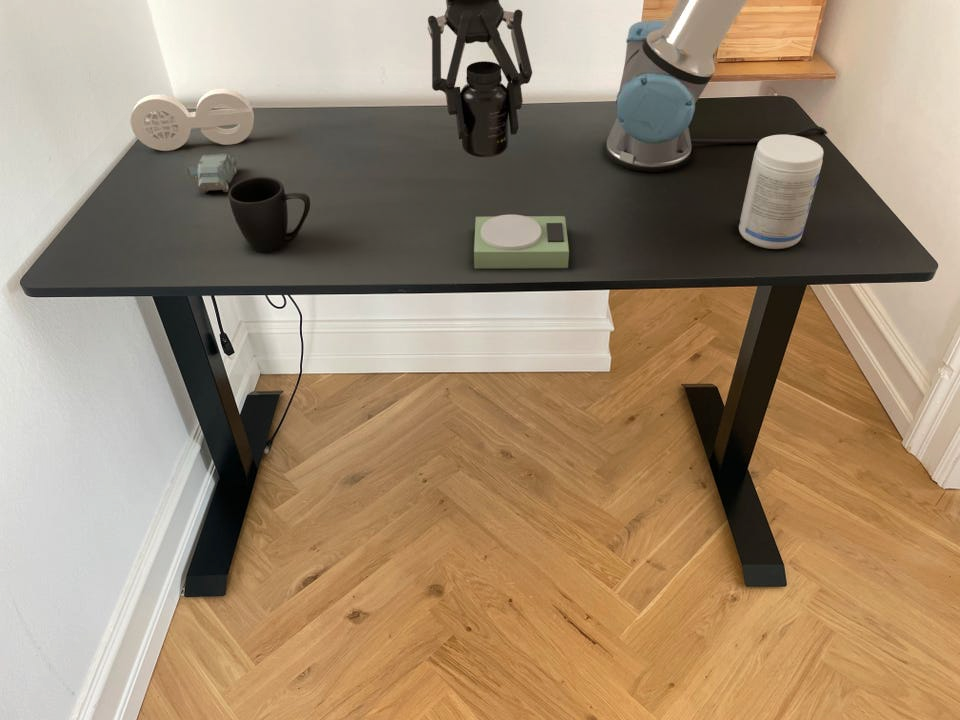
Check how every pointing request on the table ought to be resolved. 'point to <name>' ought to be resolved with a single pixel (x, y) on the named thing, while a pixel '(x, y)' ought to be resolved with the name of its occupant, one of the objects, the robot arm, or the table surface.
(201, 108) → the white double disc plate
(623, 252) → the table surface
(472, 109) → the supplement bottle
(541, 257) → the scale
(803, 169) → the supplement tub
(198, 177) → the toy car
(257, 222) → the mug
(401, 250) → the table surface
